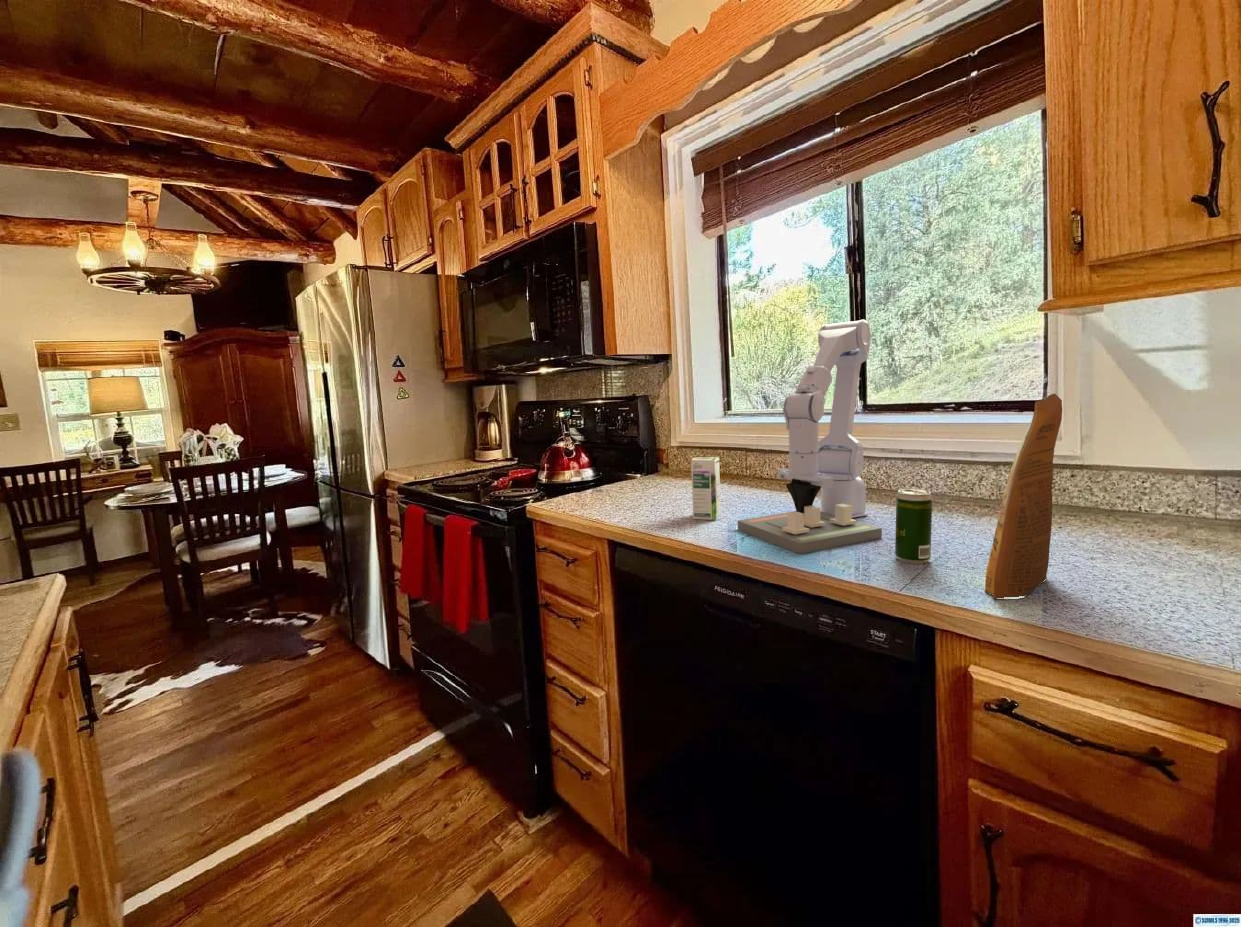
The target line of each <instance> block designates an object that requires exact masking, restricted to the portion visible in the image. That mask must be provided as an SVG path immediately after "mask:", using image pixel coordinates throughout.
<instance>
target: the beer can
mask: <svg viewBox="0 0 1241 927" xmlns="http://www.w3.org/2000/svg"><path fill="white" fill-rule="evenodd" d="M931 494H932V492H931V491H930V490H926V489H918V488H903V489H899V490H898V491H897V495H896V502H895V503H896V504H895V537H894V538H895V539H894V540H895V543H894V544H895V545H894V556H895V557H896V559H897V561H899V560H900V561H899V562H901V561H902V563H904V562H905V564H909V563H911V564H910V565H924V564H923V563H925V564H928V563H929V561H930V559H931V553H932V549H931V548H932V525H933V524H932V523H933V522H932V521H933V520H932V519H933V497H932V495H931ZM927 562H928V563H927Z"/></svg>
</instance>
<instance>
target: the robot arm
mask: <svg viewBox="0 0 1241 927" xmlns="http://www.w3.org/2000/svg"><path fill="white" fill-rule="evenodd" d="M871 340H872V334H871V327H870V325H869V323H868V321H867V320H865V319H860V320H854V321H845V322H844V321H843V322H839V323H838V322H837V323H824V324H822V325H821V327H820V328H819V331H818V335H817V341H818V342H817V343H818V347H819V349H818V353H817V356H816V358H815V360H814V364H813V366H810V367H807V369H805V371H804V373H803V375H802V377H801V379H800V381H799V383H798V385H797V387H796V389H795V391H794V393H791V394H789V396H788V395H787V396H786V397H785V400H784V403H783V407H782V415H783V417H784V420H785V427H786V430H788V468H779V469H777V470H776V472H777V473H776V474H777V478H776V479H786V480H790V483H789V482H788V483H786V484H785V485H786V486H785V487H786V489H787V491H788V492H789V494H790V496H791V499H792V501H793V504H794V507H795V508H794V509H795V511H796V512H800V513H803V514H804V507H805V506H814V505H813V504H814V501H815V499H816V497H817V495H818V493H819V492H820V511H821V512H825V513H829V514H832V515H835V505H838V504H846V505H850V506H852V514H851V519H853V518H857V517H858V518H859V517H864V516H865V517H866V516H868V515H869V512H866V505H867V504H866V501H867V500H866V498H867V496H866V494H867V489H866V484H865V482H864V480H863V479H862V478H861V477H860V475H861V474H862V473H863V470H864V465H865V459H864V446H863V444H862V443H861V442H860V441H859V440H858V439H857V438H855V436H853V429H854V428H853V427H854V422H855V420H854V419H855V412H856V402H857V395H858V387H859V379H860V371H861V366H862V364H863V363H864V362H866V361H867V360H868V359H869V354H870V348H871ZM835 366H836V374H835V382H834V390H833V391H834V392H833V399H832V405H831V414H830V422H829V428H828V430H829V431H828V434H827V435H825V436H824V437H823V438H821V439H820V440H819V421H820V420H821V419H822V418H823V416H824V412H825V404H826V398H825V396H826V394H827V392H828V390H829V387H830V386H831V383H832V381H833V376H832V372H831V371H832V370H833V368H834V367H835Z"/></svg>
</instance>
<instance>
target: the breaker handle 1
mask: <svg viewBox="0 0 1241 927" xmlns="http://www.w3.org/2000/svg"><path fill="white" fill-rule="evenodd" d="M786 513H787V512H786ZM782 530H783V531H786V532H789V533H792V534H800V533H805V532H809V529H808V528H805V527H804V514H803V513H800V512H796V510H793V511H788V513H787V527H782Z"/></svg>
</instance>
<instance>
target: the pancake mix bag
mask: <svg viewBox="0 0 1241 927" xmlns="http://www.w3.org/2000/svg"><path fill="white" fill-rule="evenodd" d="M1062 401H1063V400H1062V398H1060V397H1059V396H1058V394H1056V393H1050V394H1049V395H1048V396H1047V397H1045V398H1043V399H1039V400H1037V401H1035V402H1034V411H1033V414H1032V418H1031V421H1030V423H1029V425H1028V428H1027V429H1026V432H1025V433H1024V436H1023V438H1022V440H1021V442H1020V445H1019V446H1018V448H1017V451H1016V455H1015V457H1014V459H1013V462H1012V465H1011V468H1010V471H1009V475H1008V479H1007V480H1008V481H1007V484H1006V486H1005V489H1004V494H1003V497H1002V502H1001V507H1000V509H999V511H1000V512H999V514H998V515H999V516H998V519H997V524H996V528H995V531H994V536H993V539H992V540H993V541H992V544H991V549H990V554H989V558H988V562H987V566H986V571H985V581H984V582H985V583H984V584H985V585H984V593H986V592H987V593H986V594H988V593H991V594H993V595H992V599H993V598H1004V597H1019V596H1025V595H1027V594H1028V593H1030V592H1031V591H1032V590H1033V591H1034V589H1035V588H1036V587H1037V586H1038V585H1039V584H1040V583H1041V582H1043V581H1044V580H1045V579H1046V580H1047V574H1048V568H1049V563H1050V561H1049V560H1050V547H1051V546H1050V545H1051V535H1052V524H1053V521H1052V520H1053V482H1054V457H1055V447H1056V443H1057V439H1058V435H1059V432H1060V427H1061V423H1062V419H1063V418H1062V417H1063V403H1062ZM1043 583H1044V582H1043ZM1040 585H1041V584H1040ZM1040 585H1039V586H1040ZM1039 586H1038V587H1039ZM1038 587H1037V588H1038ZM1037 588H1036V589H1037ZM1036 589H1035V590H1036ZM1033 591H1032V592H1033ZM1032 592H1031V593H1032ZM1031 593H1030V594H1031ZM1028 595H1029V594H1028ZM1028 595H1027V596H1028Z"/></svg>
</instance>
